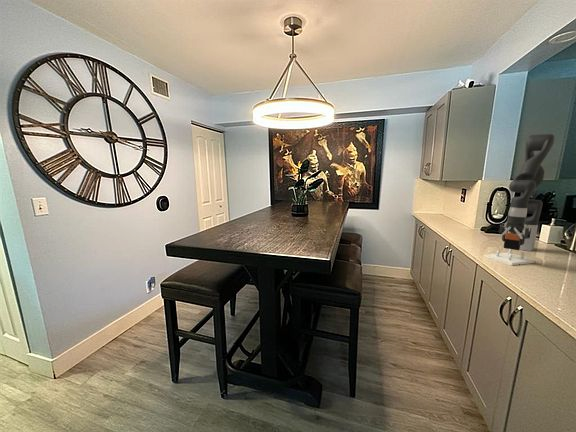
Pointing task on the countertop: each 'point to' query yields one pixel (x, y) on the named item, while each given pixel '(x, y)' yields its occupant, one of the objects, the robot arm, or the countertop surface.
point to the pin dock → (510, 258)
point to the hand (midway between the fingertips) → (512, 243)
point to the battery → (512, 241)
